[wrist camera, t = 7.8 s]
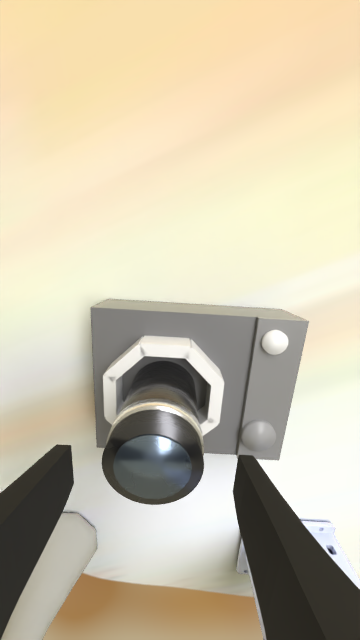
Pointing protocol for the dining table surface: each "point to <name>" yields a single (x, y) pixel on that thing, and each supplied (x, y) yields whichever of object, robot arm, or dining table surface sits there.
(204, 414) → the camera body
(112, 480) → the lens
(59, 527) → the flask
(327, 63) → the dining table surface
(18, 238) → the dining table surface
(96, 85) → the dining table surface
